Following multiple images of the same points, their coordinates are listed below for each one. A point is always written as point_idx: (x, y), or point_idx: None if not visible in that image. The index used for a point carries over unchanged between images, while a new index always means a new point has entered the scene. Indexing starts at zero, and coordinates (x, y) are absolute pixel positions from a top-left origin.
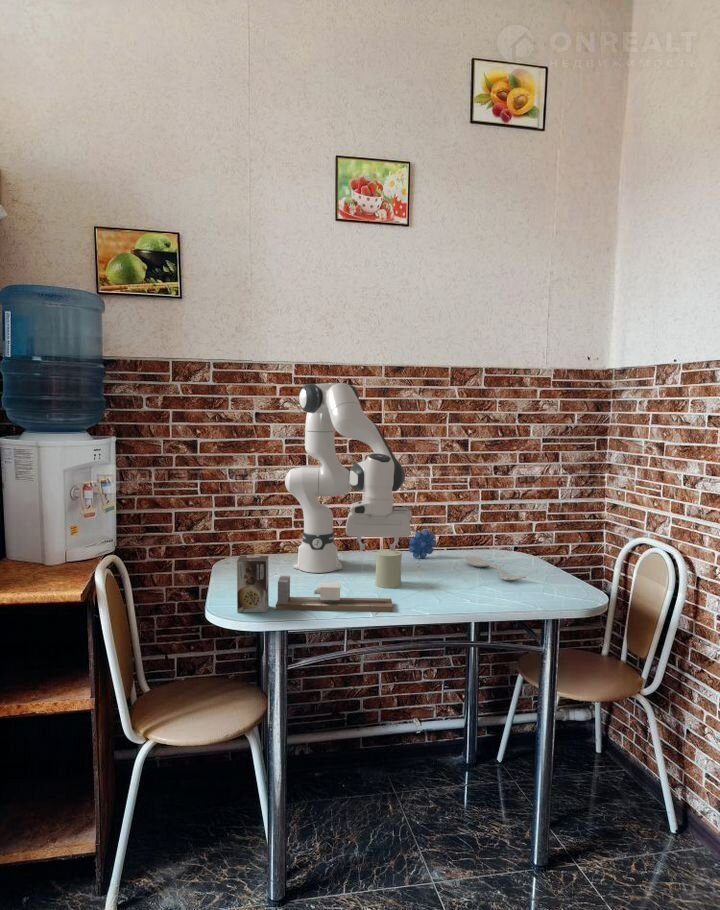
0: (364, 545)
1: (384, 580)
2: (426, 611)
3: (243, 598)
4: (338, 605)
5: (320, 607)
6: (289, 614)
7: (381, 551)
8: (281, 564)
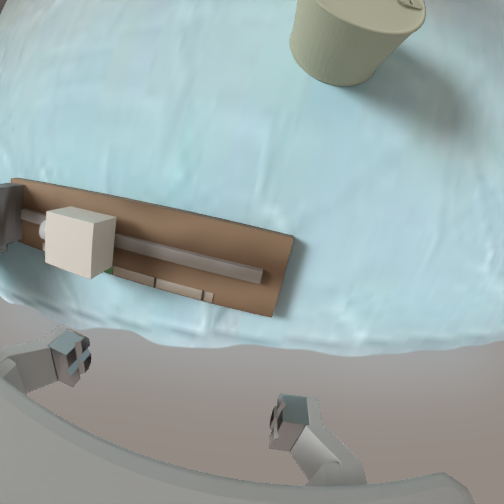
0: (71, 385)
1: (317, 66)
2: (366, 322)
3: None
4: (114, 274)
5: None
6: (35, 270)
7: None
8: None
